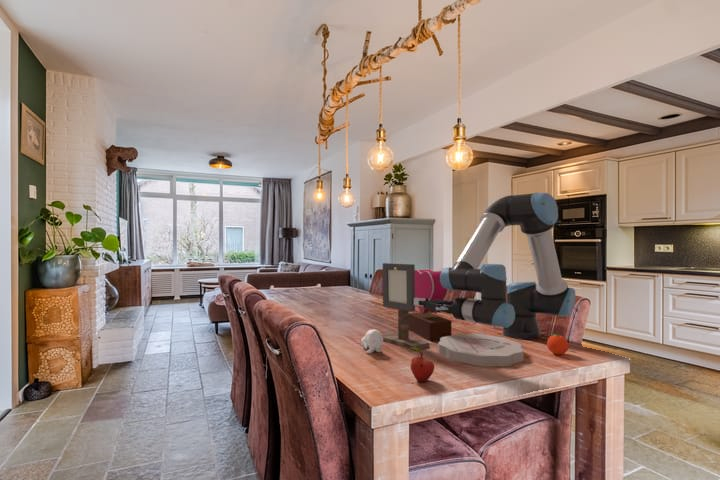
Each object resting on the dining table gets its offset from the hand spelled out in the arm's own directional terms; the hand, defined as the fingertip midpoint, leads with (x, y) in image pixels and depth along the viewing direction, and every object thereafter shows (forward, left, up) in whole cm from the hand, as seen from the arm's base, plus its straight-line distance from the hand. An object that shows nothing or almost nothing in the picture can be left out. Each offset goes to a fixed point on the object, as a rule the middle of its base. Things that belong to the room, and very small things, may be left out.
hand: (415, 301), depth 145 cm
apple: (-24, +24, -18) cm, 39 cm away
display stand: (+9, -2, -18) cm, 20 cm away
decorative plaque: (-19, -14, -19) cm, 30 cm away
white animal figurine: (+9, +15, -18) cm, 25 cm away
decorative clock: (+10, -21, -18) cm, 29 cm away
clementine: (-38, -34, -18) cm, 54 cm away
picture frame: (+9, 0, -4) cm, 10 cm away
